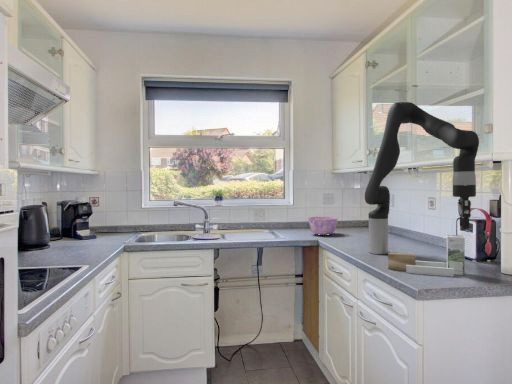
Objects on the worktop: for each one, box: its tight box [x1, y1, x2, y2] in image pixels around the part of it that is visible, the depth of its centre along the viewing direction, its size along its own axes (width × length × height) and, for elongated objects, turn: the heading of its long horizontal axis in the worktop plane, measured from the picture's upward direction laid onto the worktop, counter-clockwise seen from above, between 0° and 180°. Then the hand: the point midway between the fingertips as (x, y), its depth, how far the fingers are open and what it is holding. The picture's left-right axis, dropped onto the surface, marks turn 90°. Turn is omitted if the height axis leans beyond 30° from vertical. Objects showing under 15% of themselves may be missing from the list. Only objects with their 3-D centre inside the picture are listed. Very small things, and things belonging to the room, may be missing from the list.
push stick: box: [387, 252, 417, 270], centre depth 144 cm, size 3×10×6 cm, turn 66°
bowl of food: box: [307, 216, 339, 235], centre depth 245 cm, size 20×20×12 cm
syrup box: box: [446, 234, 466, 276], centre depth 137 cm, size 6×6×14 cm
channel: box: [392, 260, 455, 278], centre depth 141 cm, size 11×21×3 cm, turn 66°
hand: (464, 227), depth 135 cm, fingers open, 8 cm apart
